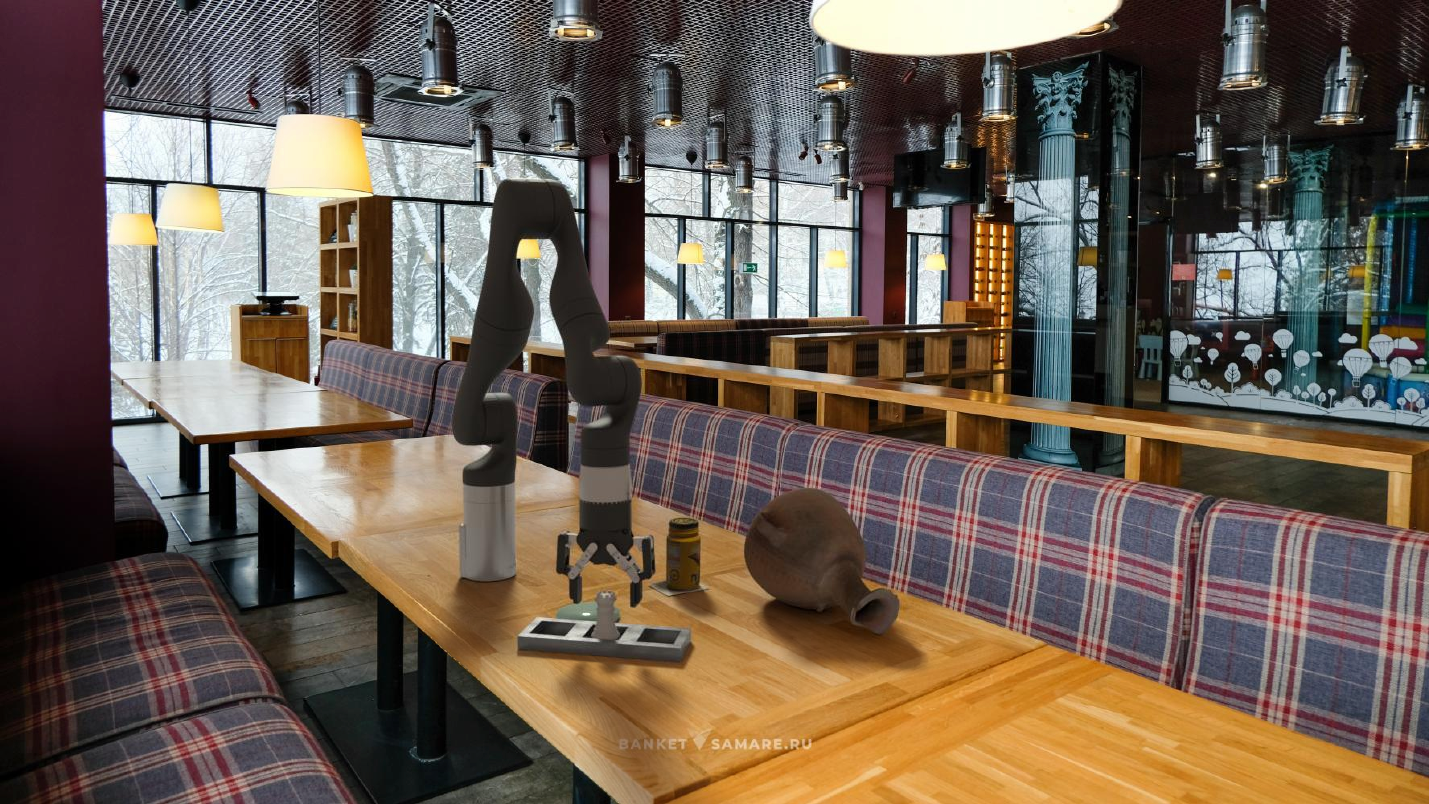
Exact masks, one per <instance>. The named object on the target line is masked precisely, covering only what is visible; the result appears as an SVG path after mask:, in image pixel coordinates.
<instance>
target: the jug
mask: <svg viewBox="0 0 1429 804" xmlns="http://www.w3.org/2000/svg"><path fill="white" fill-rule="evenodd" d="M856 524H857V523H855V520H854V519H853V517H852V516H851V515H850V513H849V512H848V511H847V509H846V508H845V507H844V506H843V504H841V502H839V500H838V499H837V498H835V497H834V495H832V494H831V493H828V492H826V491H824V490H822V489H820V488H815V487H802V488H801V487H800V488H797V489H792V490H790V491H789V490H788V491H786V492H784V493H781V494H780V495H778V496H776V497H775V498H773V499H772V500H770V501H769V502H767V504H766V505H764V506H763V507H762V508H761V509H760V510H759V512H757V513H756V515H755V516H754V517H753V518H752V520H751V523H750V525H749V526H748V527H749V528H748V529H747V532H746V535H745V541H744V544H743V556H744V562H745V565H746V568H747V571H748V572H749V575H750V576H751V578H752V579H753V580H754V581H755V583H756V584H757V585H758V586H759V587H760V588H761V590H763V591H764V592H766V593H767V594H769V596H771V597H773V598H775V599H776V600H778V601H780V602H783V603H785V604H787V605H791V606H794V607H796V608H801V609H806V610H807V609H809V610H815V611H816V612H818V613H820V612H822V611H823V610H824V609H829V608H832V607H835V606H837V605H838V606H839V607H840V608H841V609H842V610H843V611H844V613H845V614H846V615H847V616H848V618H849V622H851V624H852V625H854V626H856V627H857V626H858V627H864V628H866V629H868V630H869V631H871V632H873V633H874V634H878V635H883V634H885V633H886V632H887V631H888V630H890V628H891V627H892V625H893V624H894V623H895V622H896V620H897V619H898V616H899V611H900V608H901V607H900V598H899V596H898V594H895V593H893V591H892V589H887V588H884V587H881V588H879V587H878V588H875V589H873V590H871V589H870V588H868V587H867V584H866V583H864V581H863V577H864V573H865V569H866V564H867V551H866V547H865V541H864V539H863V536H862V534H861V532H860V530H859V527H858V526H857V525H856Z"/></svg>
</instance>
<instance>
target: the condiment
mask: <svg viewBox="0 0 1429 804" xmlns="http://www.w3.org/2000/svg"><path fill="white" fill-rule="evenodd" d="M699 532H700V530H699V521H698V520H697V519H695V518H693V517H675V518H671V519H670V520H669V523H668V533H667V536H666V541H665V542H666V549H665V550H666V552H665V553H666V554H665V555H666V557H665V559H666V560H665V562H666V563H665V580H662V581H659V582H658V581H657V582H649V583H647V585H648V586H649V587H651V588H653V589H654V590H656V591H657V592H659V593H662V594H663V595H665V596H667V597H670V596H677V595H680V594H681V595H682V594H685V593H694V592H698V591H703V590H709V589H710V587H709V586H706V585H704V584H701V583H700V582H701V544H702V543H701V539H702V538H701V535H700V534H699Z"/></svg>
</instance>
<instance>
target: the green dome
mask: <svg viewBox="0 0 1429 804" xmlns="http://www.w3.org/2000/svg"><path fill="white" fill-rule="evenodd" d="M597 606H598V605H597V603H596V601H585V602H583V601H581V602H580V603H579V604H574V603H570V604H567V605H564V606H562V607H560V608H558V609H557V611H556V617H555V619H568V620H582V621H597V611H596V608H597ZM614 607H615V610H614V620H615V623H617V622H618V621H619V620H620V617H621V615H620V614H621V611H620V608H619V607H617V606H616V605H614Z"/></svg>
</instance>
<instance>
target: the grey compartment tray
mask: <svg viewBox="0 0 1429 804" xmlns="http://www.w3.org/2000/svg"><path fill="white" fill-rule="evenodd" d="M615 625H616V627H617V631H618V632H619V633H620V638H619V640H608V639H595V638H591V634H592V633H593V631H594V628H595V626H596V621H582V620H568V619H556V618H554V617H552V618H551V617H540V616H538V617H535V619H533V620H532V622H530V623H529V624H528V625H527V626H526V627H525V628H524V629H523V630H522V631H521V632H520V633H519V634H518V635H517V650H523V651H534V652H536V651H537V652H549V653H559V654H570V655H571V654H572V655H575V654H576V655H585V656H586V655H588V656H597V657H598V656H599V657H600V656H601V657H609V658H610V657H613V658H614V657H615V658H623V659H624V658H625V659H636V660H637V659H638V660H648V661H649V660H650V661H662V662H665V661H666V662H673V663H674V662H675V663H676V662H677V663H678V662H679V663H681V662H682V660H683V658H684V656H685V654H686V652H687V650H688V648H689V646H690V644H691V642H692V628H690V627H680V626H679V627H677V626H665V625H664V626H662V625H650V624H649V625H648V624H638V623H637V624H636V623H635V624H634V623H621V622H615Z"/></svg>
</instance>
